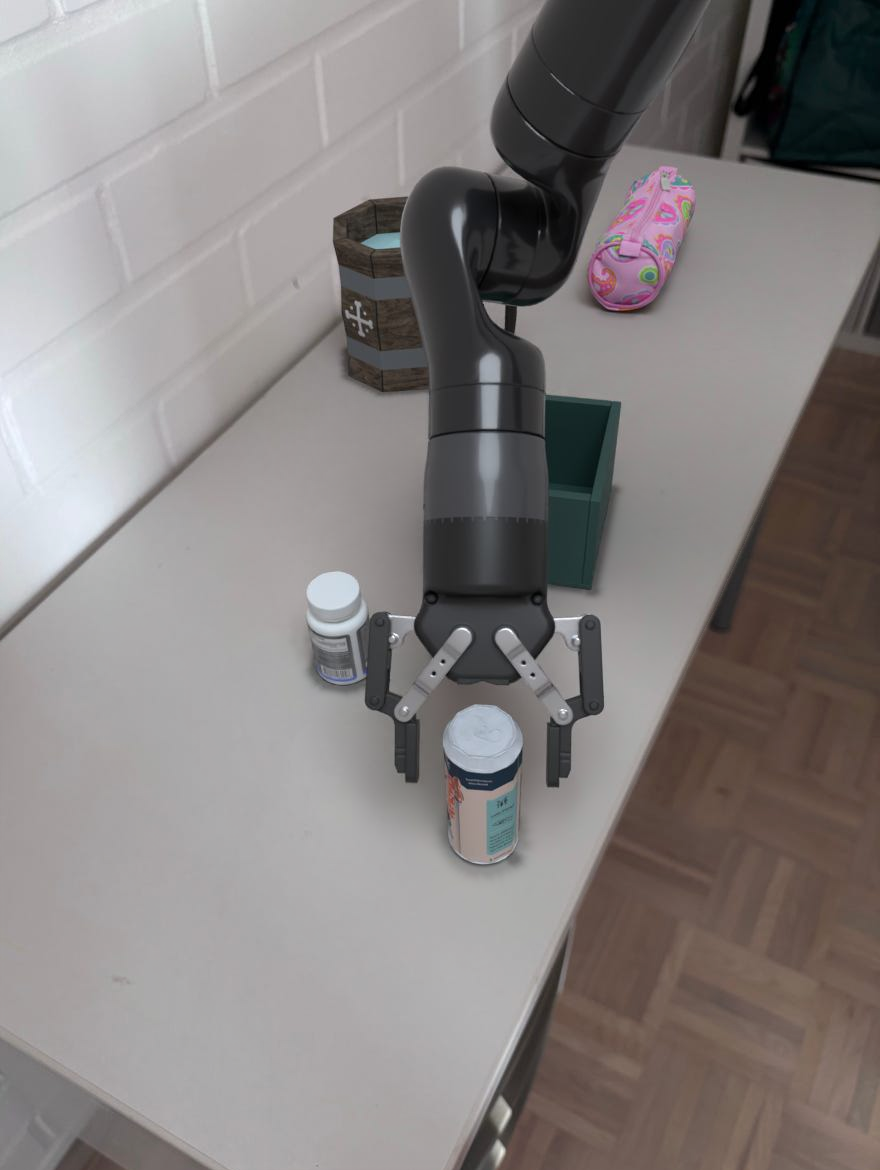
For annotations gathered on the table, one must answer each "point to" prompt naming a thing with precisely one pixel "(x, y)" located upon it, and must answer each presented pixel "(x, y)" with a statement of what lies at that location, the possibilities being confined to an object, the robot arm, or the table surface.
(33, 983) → the table surface
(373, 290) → the mug
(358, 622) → the pill bottle
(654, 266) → the pencil case
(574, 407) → the bin
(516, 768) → the beer can
